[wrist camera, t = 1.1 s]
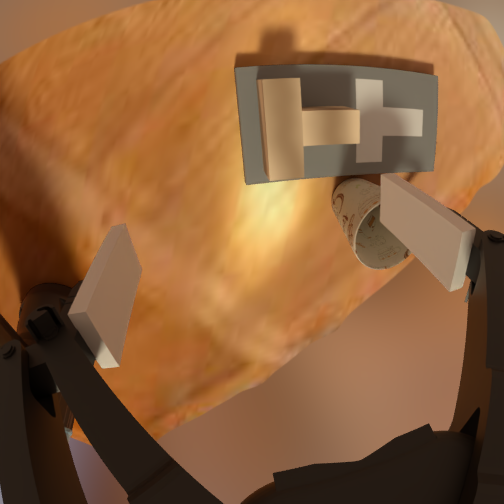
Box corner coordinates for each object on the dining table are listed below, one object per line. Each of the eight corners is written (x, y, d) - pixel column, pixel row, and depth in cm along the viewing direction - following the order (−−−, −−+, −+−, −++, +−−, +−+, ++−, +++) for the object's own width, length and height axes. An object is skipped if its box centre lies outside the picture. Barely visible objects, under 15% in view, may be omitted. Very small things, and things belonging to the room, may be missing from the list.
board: (244, 181, 36) (246, 185, 35) (234, 68, 29) (235, 67, 28) (427, 168, 38) (433, 171, 36) (431, 75, 31) (437, 75, 30)
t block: (263, 170, 34) (269, 181, 31) (256, 79, 29) (262, 79, 26) (344, 163, 35) (358, 173, 31) (343, 78, 30) (358, 78, 26)
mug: (326, 166, 36) (362, 196, 28) (411, 173, 38) (457, 202, 29) (318, 229, 41) (347, 272, 32) (399, 228, 42) (437, 266, 34)
